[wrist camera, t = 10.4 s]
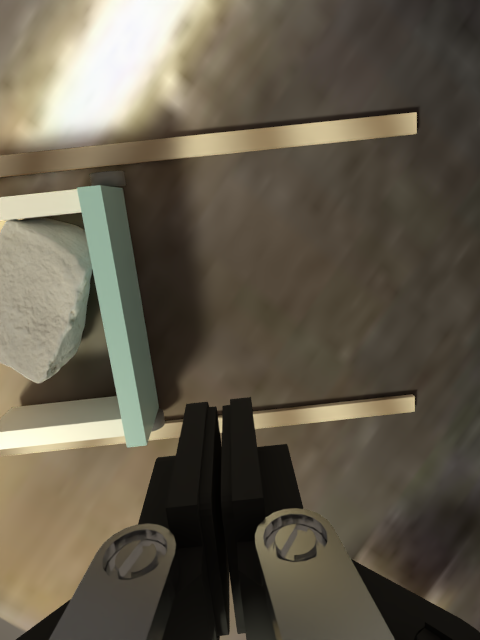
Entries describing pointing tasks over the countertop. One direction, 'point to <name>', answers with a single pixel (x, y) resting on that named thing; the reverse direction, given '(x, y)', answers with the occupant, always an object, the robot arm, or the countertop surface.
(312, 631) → the robot arm
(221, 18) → the countertop surface
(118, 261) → the green frame
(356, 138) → the track
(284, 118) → the countertop surface
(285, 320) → the countertop surface
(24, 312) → the grey rock
